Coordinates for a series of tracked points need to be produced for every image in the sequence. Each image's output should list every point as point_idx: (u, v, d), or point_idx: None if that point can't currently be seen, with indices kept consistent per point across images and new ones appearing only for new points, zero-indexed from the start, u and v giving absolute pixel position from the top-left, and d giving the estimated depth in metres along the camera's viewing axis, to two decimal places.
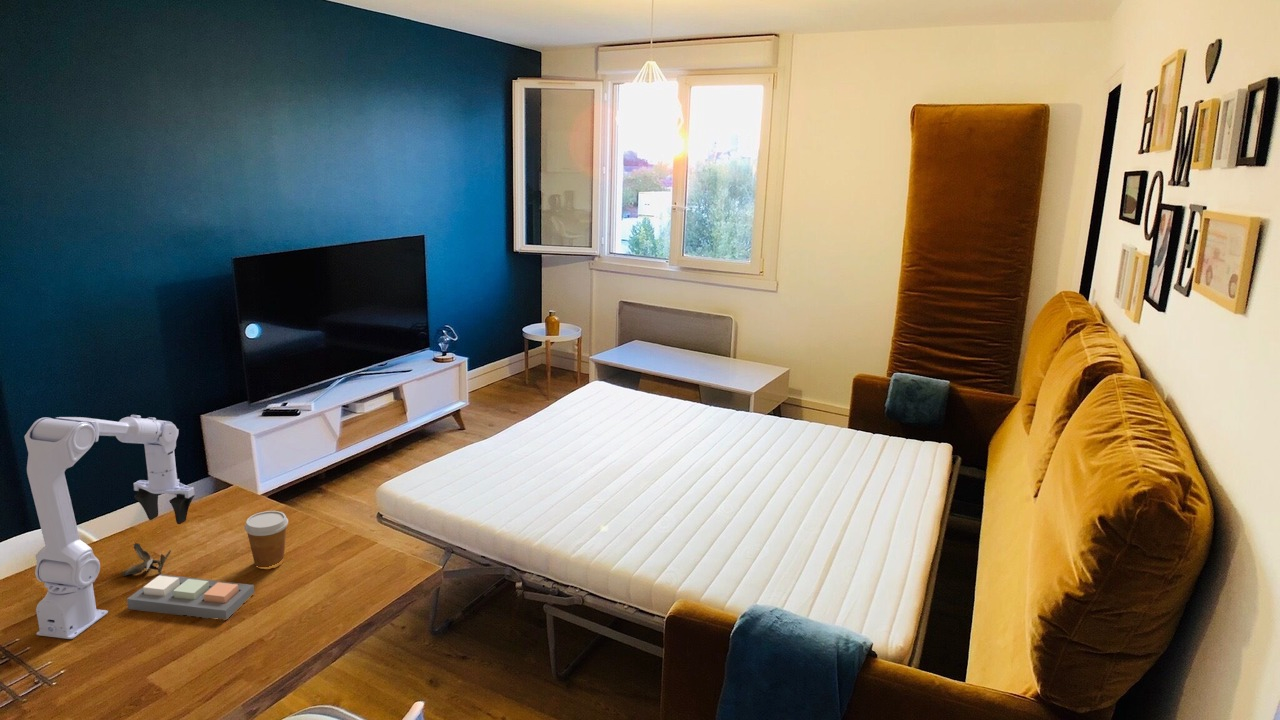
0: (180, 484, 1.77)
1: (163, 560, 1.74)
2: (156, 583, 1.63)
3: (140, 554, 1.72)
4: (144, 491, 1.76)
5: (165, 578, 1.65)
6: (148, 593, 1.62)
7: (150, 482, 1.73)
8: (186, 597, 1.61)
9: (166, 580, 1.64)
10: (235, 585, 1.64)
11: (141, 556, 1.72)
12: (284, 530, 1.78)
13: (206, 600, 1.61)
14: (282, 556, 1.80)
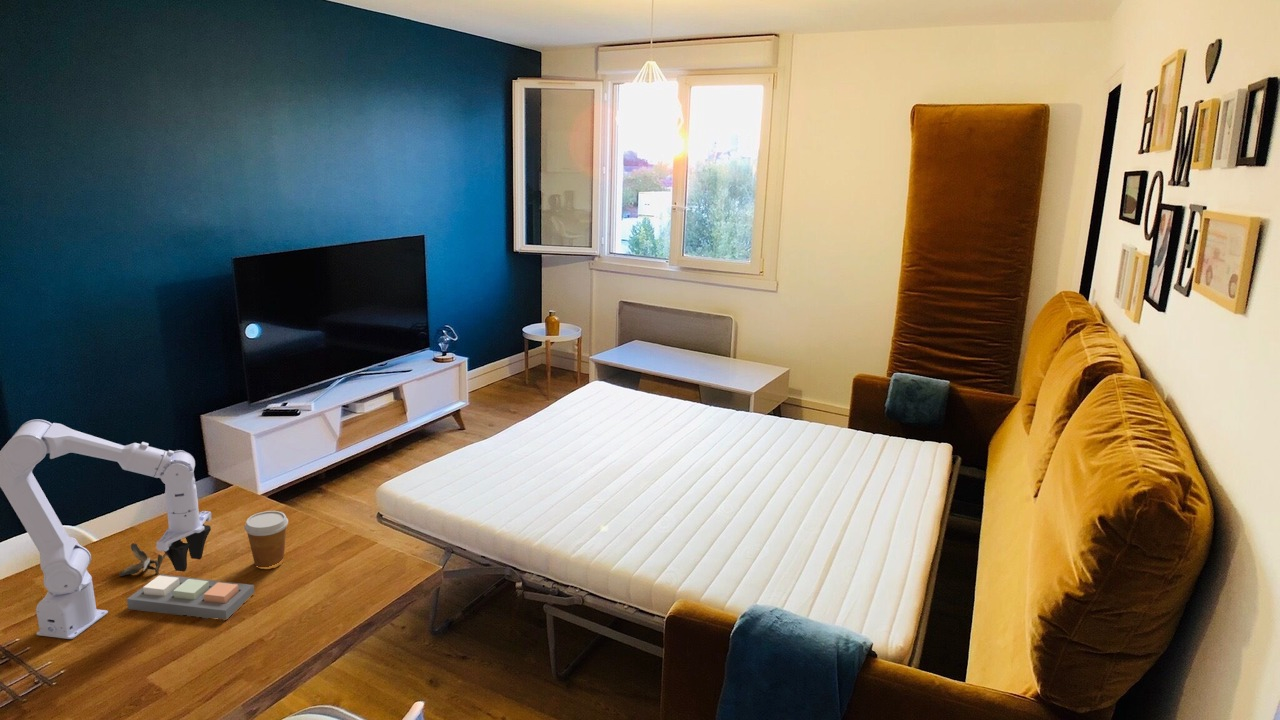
0: None
1: (160, 560, 1.73)
2: (156, 583, 1.63)
3: (137, 554, 1.72)
4: None
5: (165, 578, 1.65)
6: (148, 593, 1.62)
7: None
8: (186, 597, 1.61)
9: (166, 580, 1.64)
10: (235, 585, 1.64)
11: (138, 556, 1.72)
12: (284, 530, 1.78)
13: (206, 600, 1.61)
14: (282, 556, 1.80)
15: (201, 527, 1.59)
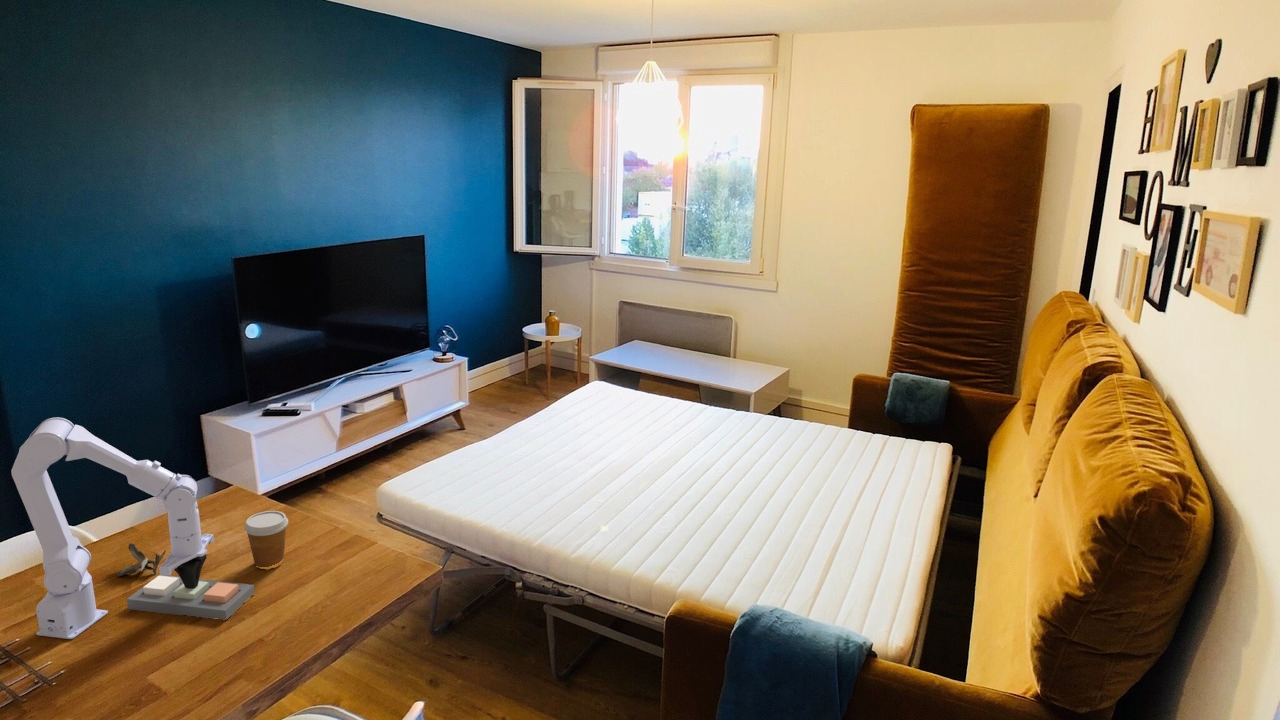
0: None
1: (158, 560, 1.73)
2: (156, 583, 1.63)
3: (135, 554, 1.72)
4: None
5: (165, 578, 1.65)
6: (148, 593, 1.62)
7: None
8: (186, 598, 1.61)
9: (166, 580, 1.64)
10: (235, 585, 1.64)
11: (136, 556, 1.72)
12: (284, 530, 1.78)
13: (206, 600, 1.61)
14: (282, 556, 1.80)
15: (204, 551, 1.61)
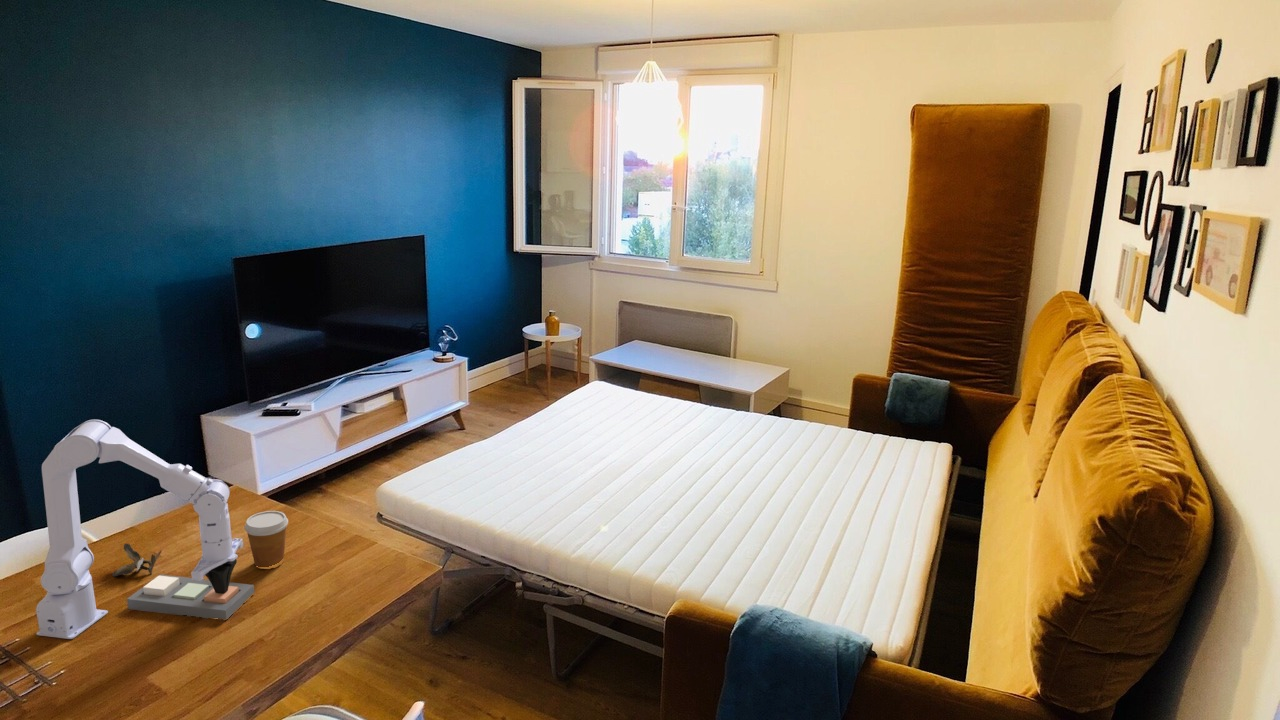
0: None
1: (154, 560, 1.73)
2: (156, 583, 1.63)
3: (130, 554, 1.72)
4: None
5: (165, 578, 1.65)
6: (148, 593, 1.62)
7: None
8: None
9: (166, 580, 1.64)
10: (235, 587, 1.64)
11: (131, 556, 1.72)
12: (284, 530, 1.78)
13: None
14: (282, 556, 1.80)
15: (234, 555, 1.60)
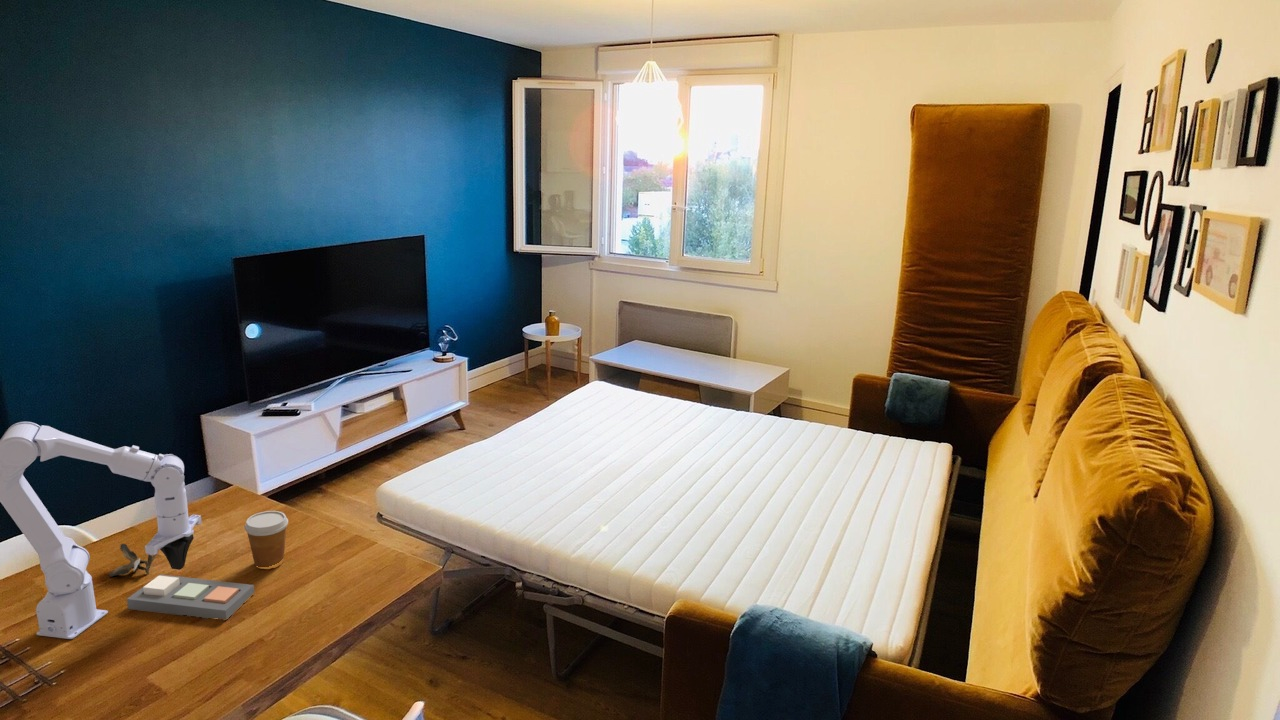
0: None
1: (150, 560, 1.73)
2: (156, 583, 1.63)
3: (127, 554, 1.72)
4: None
5: (165, 578, 1.65)
6: (148, 593, 1.62)
7: None
8: None
9: (166, 580, 1.64)
10: (235, 589, 1.64)
11: (128, 556, 1.72)
12: (284, 530, 1.78)
13: None
14: (282, 556, 1.80)
15: (190, 531, 1.59)
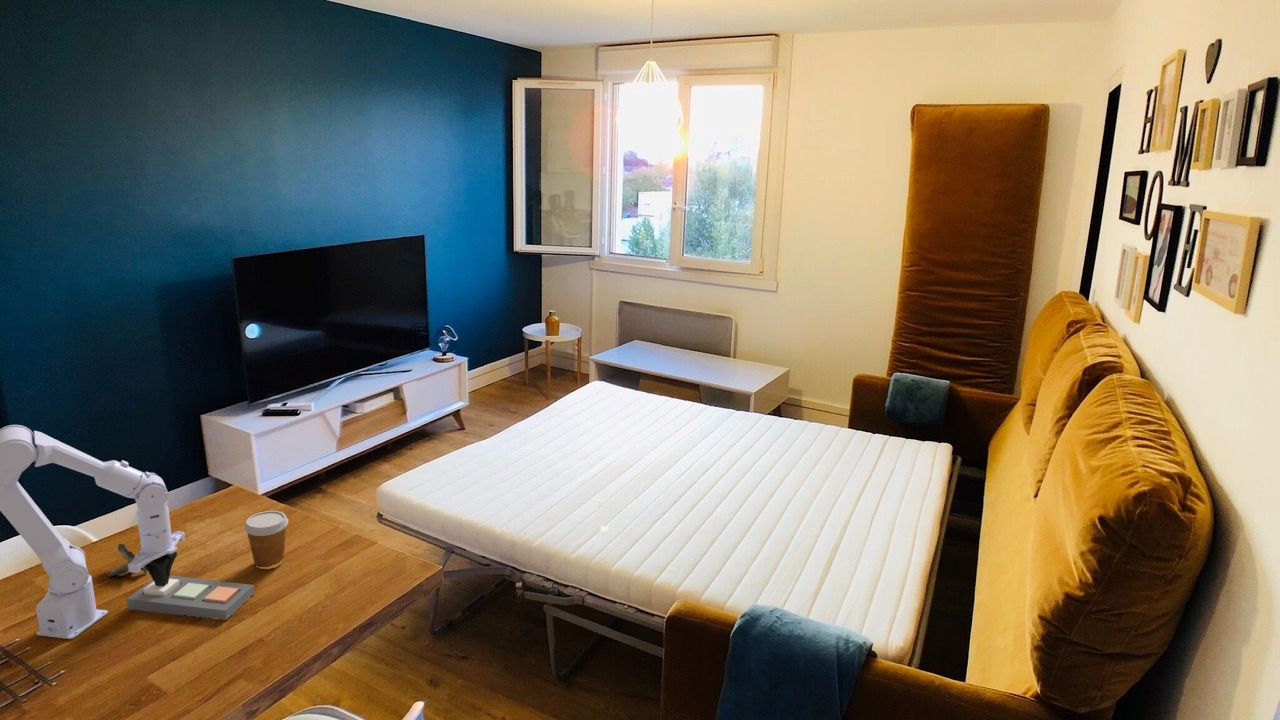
0: None
1: None
2: None
3: (125, 555, 1.72)
4: None
5: None
6: None
7: None
8: None
9: None
10: (235, 589, 1.64)
11: (126, 557, 1.72)
12: (284, 530, 1.78)
13: None
14: (282, 556, 1.80)
15: (173, 548, 1.61)
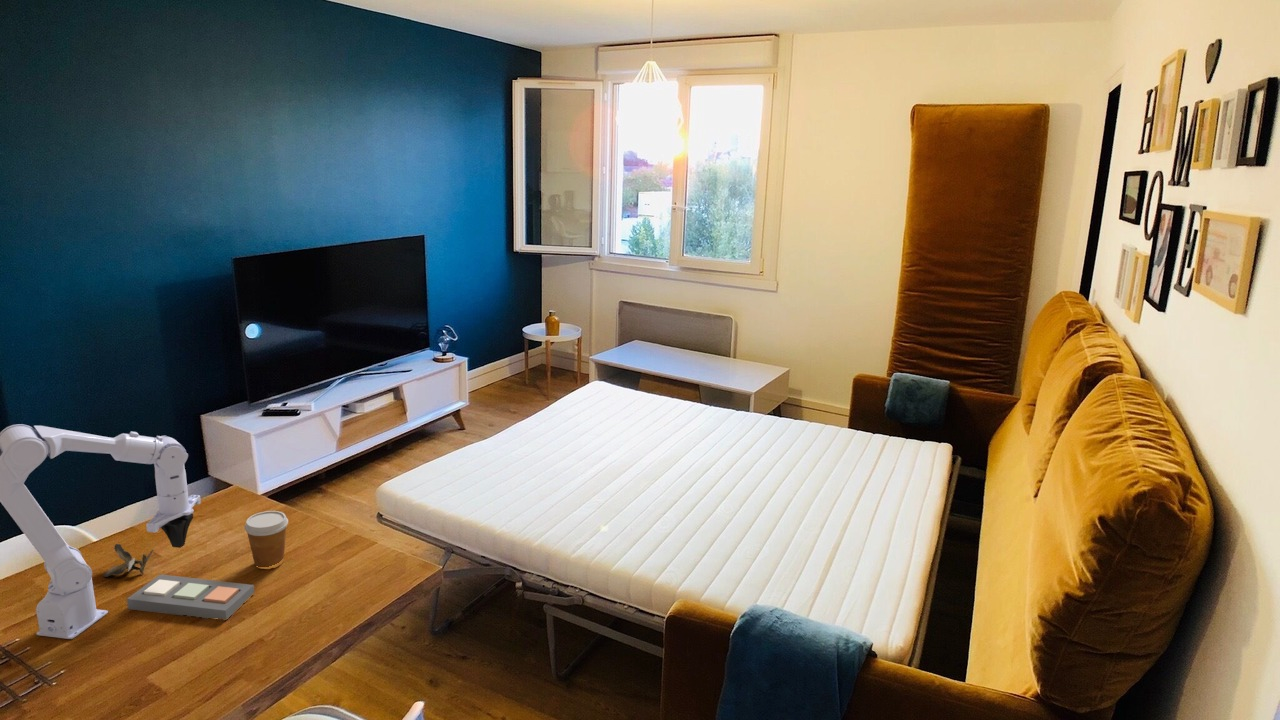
0: None
1: (145, 560, 1.73)
2: (156, 587, 1.63)
3: (121, 555, 1.72)
4: None
5: (166, 582, 1.65)
6: None
7: None
8: None
9: (166, 584, 1.64)
10: (235, 589, 1.64)
11: (122, 557, 1.72)
12: (284, 530, 1.78)
13: None
14: (282, 556, 1.80)
15: (190, 510, 1.64)
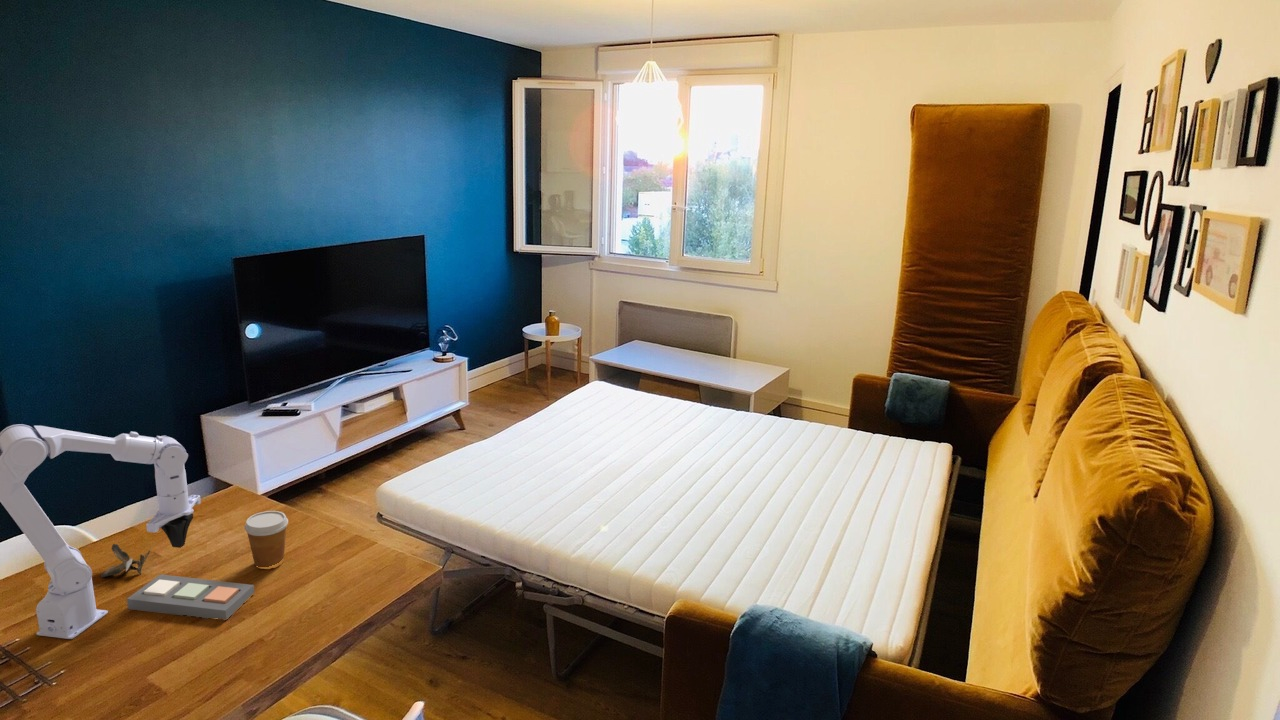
0: None
1: (143, 560, 1.73)
2: (156, 587, 1.63)
3: (119, 555, 1.72)
4: None
5: (166, 582, 1.65)
6: None
7: None
8: None
9: (166, 584, 1.64)
10: (235, 589, 1.64)
11: (120, 557, 1.72)
12: (284, 530, 1.78)
13: None
14: (282, 556, 1.80)
15: (190, 510, 1.64)
